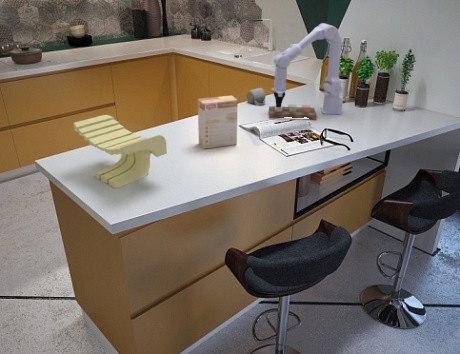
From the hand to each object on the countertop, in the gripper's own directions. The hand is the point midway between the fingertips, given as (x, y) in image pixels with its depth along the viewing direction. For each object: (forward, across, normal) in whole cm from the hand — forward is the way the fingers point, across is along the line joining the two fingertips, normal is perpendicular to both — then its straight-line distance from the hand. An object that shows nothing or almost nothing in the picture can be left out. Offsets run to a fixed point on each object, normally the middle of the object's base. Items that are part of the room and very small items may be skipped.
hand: (278, 106), depth 217 cm
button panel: (+4, 0, +7) cm, 8 cm away
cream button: (+3, 0, 0) cm, 3 cm away
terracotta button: (+2, 0, +14) cm, 14 cm away
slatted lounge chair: (+4, +74, -58) cm, 94 cm away
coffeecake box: (+4, +42, -27) cm, 50 cm away
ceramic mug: (+4, -19, -10) cm, 22 cm away
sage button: (+2, 0, +7) cm, 7 cm away
